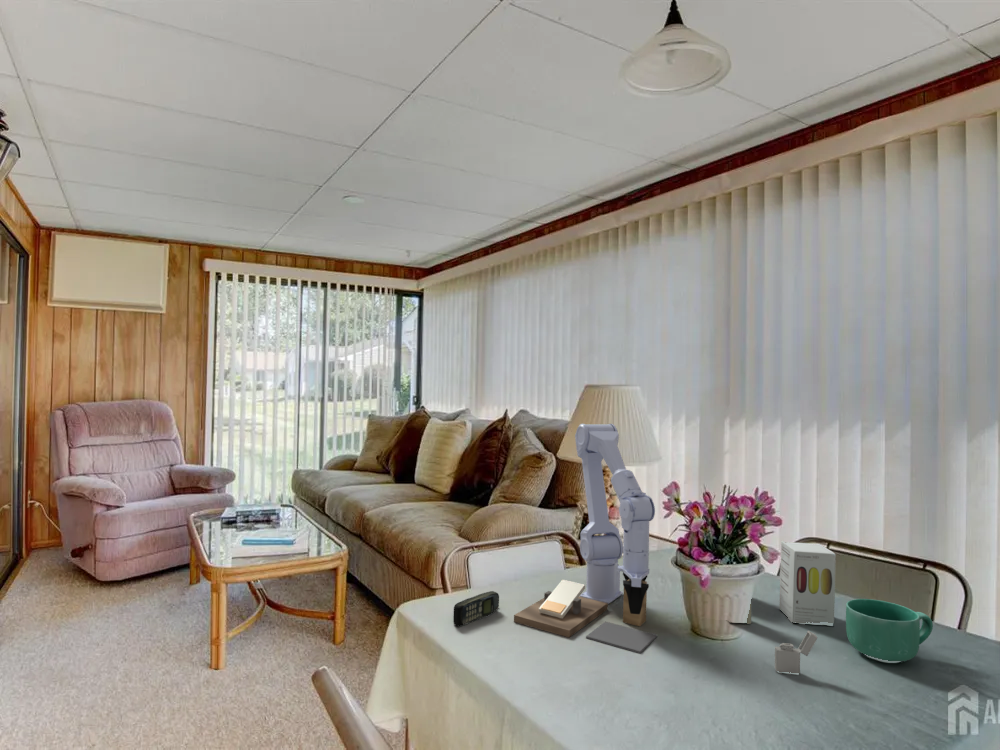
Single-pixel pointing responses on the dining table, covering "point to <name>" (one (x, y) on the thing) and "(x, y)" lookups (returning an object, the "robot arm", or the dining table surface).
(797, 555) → the supplement box
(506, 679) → the dining table surface
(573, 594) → the white two-tone slab
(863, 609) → the mug
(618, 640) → the rest mat
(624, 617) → the wood grain block
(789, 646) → the lighter
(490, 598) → the mobile phone
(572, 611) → the switch panel
